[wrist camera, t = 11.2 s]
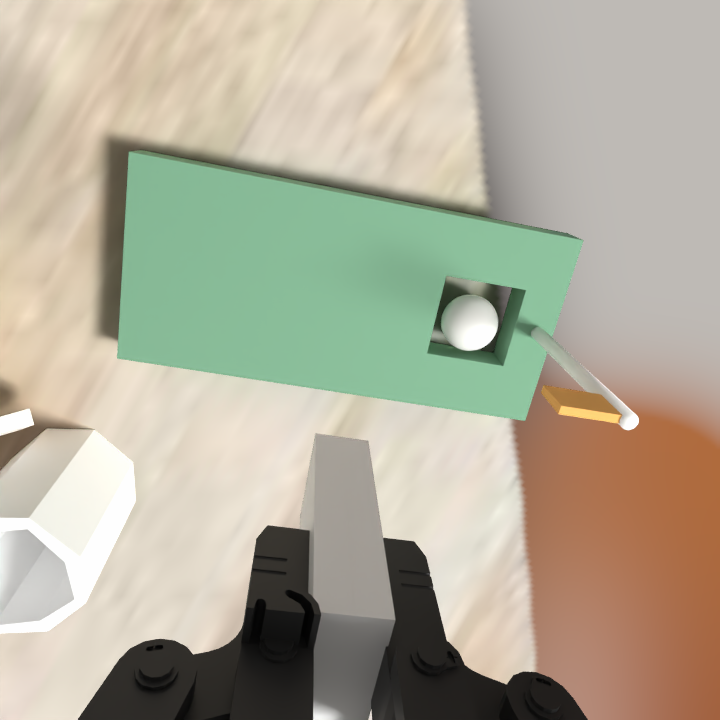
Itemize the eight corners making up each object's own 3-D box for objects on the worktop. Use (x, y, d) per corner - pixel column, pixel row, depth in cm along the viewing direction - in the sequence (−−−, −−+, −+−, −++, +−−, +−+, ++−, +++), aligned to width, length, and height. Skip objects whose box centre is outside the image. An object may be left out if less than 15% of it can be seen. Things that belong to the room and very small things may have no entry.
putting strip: (141, 149, 34) (26, 166, 21) (567, 233, 38) (704, 293, 24) (128, 344, 39) (26, 462, 25) (514, 404, 42) (605, 537, 28)
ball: (506, 297, 38) (452, 284, 39) (502, 308, 35) (444, 293, 36) (492, 349, 39) (440, 335, 40) (487, 363, 36) (430, 348, 37)
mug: (158, 507, 43) (114, 610, 34) (48, 543, 44) (-24, 654, 34) (75, 360, 39) (-1, 433, 30) (-46, 402, 39) (-157, 487, 30)
